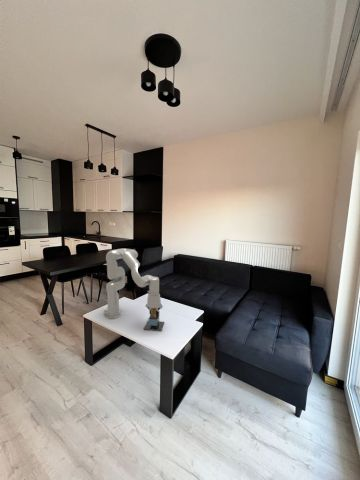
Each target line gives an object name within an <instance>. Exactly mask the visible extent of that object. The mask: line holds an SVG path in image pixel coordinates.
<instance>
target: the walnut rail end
mask: <svg viewBox="0 0 360 480" xmlns="http://www.w3.org/2000/svg"><path fill="white" fill-rule="evenodd" d="M151 319H157V316H156V308H151Z"/></svg>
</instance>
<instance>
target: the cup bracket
mask: <svg viewBox="0 0 360 480" xmlns="http://www.w3.org/2000/svg"><path fill="white" fill-rule="evenodd" d="M160 314H161V313H160V310H158V315H157V319H151V316H150V315H149V317H148V318H147V319H148V320H147V321H146V323H145V326H144V327H143V330H144V331H153V332H155V331H156V332H162V330H163V328H164V325H165V321H160Z"/></svg>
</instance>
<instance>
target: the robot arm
mask: <svg viewBox="0 0 360 480" xmlns="http://www.w3.org/2000/svg"><path fill="white" fill-rule="evenodd" d="M138 256H139V253H138V252H137V251H136V249H134V248H133V249H131V248H117V249H112V250H110V251H108V252H107V253H106V255H105V261H106V272H107V279H109V280H110V281H109V282H107V283H106V287H105V288H106V293H107V309H103V314H105V318H107V319H109V320H111V319H113V320H114V319H117V318H120V316H121V314H122V312H121V311H120V295H119V293H118V291H119V290H121V289H123V288H124V287H125V285H126V271H125V269H124V268H123V266H118V262H117V260H120V259H122V260H123V261H124V263H125V264H126V265H127V266H128V268H129V269H130V271H131V272H130V274H131V277H132V278H131V279H132V280H133V281H134V283H135V284H136V285H137V287H140V288H145V287H146V286H148V287H149V288H148V289H149V290H147V293H148V295H147V301H146V302H147V303H146V304H145V308H147V309H148V311H149V317H150V316H151V308H156V316H157V315H158V311H160V310H161V309H163V307H164V306H163V304H162V301H161V294H160V278H159V277H158V276H153V275H150V274H145V275H144V276H143V275H142V276H141V275H140V273H139V271H138V269H139V267H140V266H141V263H140V262H139V260H138V259H137V258H138Z"/></svg>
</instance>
